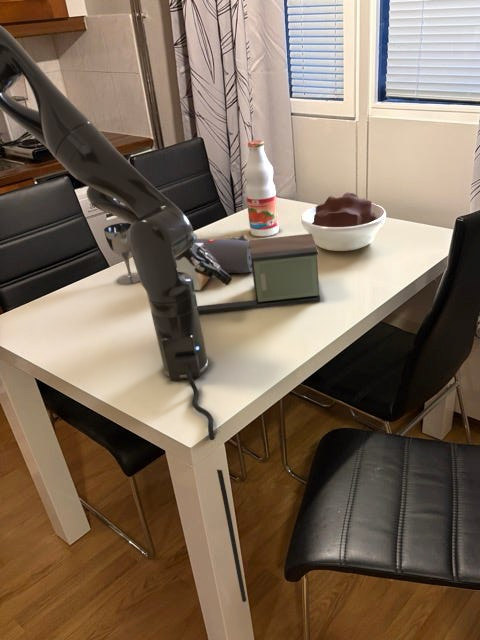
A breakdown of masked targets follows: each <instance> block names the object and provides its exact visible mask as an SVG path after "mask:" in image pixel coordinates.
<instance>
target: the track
mask: <svg viewBox="0 0 480 640" xmlns="http://www.w3.org/2000/svg"><path fill="white" fill-rule="evenodd" d="M316 247H317V246H316ZM316 247H315V248H306V249H296V250H287V251H277V252H268V253H258V254H251V261H261V260H270V259H280V258H289V257H298V256H308V255H317V256H318V255H319V250H318V248H316ZM315 302H321V295H320V292H319V293H318V296H309V297H300V298H290V299H281V300H272V301H263V302H258V300H256V299H252V300H241V301H232V302H223V303H222V302H221V303H214V304H213V303H211V304H204V305H197V306H198V311H199V315H203V314H214V313H223V312H231V311H241V310H251V309H260V308H261V309H262V308H269V307H278V306H288V305H297V304H306V303H315Z"/></svg>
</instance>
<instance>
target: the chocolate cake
mask: <svg viewBox="0 0 480 640" xmlns="http://www.w3.org/2000/svg"><path fill="white" fill-rule="evenodd" d="M386 219H387V212H386V210H385V208H383V207H382V206H381V205H378V204H375V203H373V202H372V201H371V200H369V199H366V198H360V197H359V196H358V195H357V194H355V193H353V192H346V193H344V194H343V195H342V196H339V197H335V196H332V195H329V196H328V197H327V198H326V200H325V202H324V203H323V204H322V203H321V204H317V205H315V206H312V207H310V208H308V209H307V210H305V211H304V212H303V213H302V214H301V216H300V224H301V225H302V227H303V229H304V230H305V231H306V233H307V234H312V236H313V239H314V242H315V245H316V246H318V247H319V248H321V249H324V250H328V251H332V252H333V251H335V252H347V251H354V250H359V249H362V248H364V247H366V246H368V245H370V244H371V243H372V242H373V241H374V239H375V237H376V234H377V233H378V231H379V230H380V229H381V228H382V227H383V225H385V221H386Z"/></svg>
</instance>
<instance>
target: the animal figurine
mask: <svg viewBox="0 0 480 640" xmlns="http://www.w3.org/2000/svg"><path fill="white" fill-rule="evenodd" d="M229 239H230V240H243V241H249V240H247V237H246V236H245V234H244V233H243V234H241V235H240V236H239V237H237V236H231V238H229Z"/></svg>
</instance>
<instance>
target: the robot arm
mask: <svg viewBox="0 0 480 640" xmlns="http://www.w3.org/2000/svg"><path fill="white" fill-rule="evenodd" d="M22 77H24V79H25V80H26V82H27V83H28V86H29V88H30V90H31V92H32V95H33V97H34V101H35V103H36V107H37V110H36V109H33V108H31V107H28V106H26V105H24V104H22V103H20V102H19V101H17V100H15V99H14V98H13V97H11V96H10V95H9V94H8V93H7V91H9V90H10V89H11V88H12V87H13V86H14V85H15V84H16V83H17V82H19V80H20V79H21V78H22ZM0 110H1V112H3V113H4V114H5V115H6V116H8V118H10V119H11V120H12V121H14V123H16V124H17V125H19V126H20V127H21V128H22V129H24V130H25V131H26V132H27V133H29V134H30V136H33V137H34V138H35V139H36V140H38V142H40V143H41V144H42V145H44V146H45V147H46V148H47V149H48V150H49V152H50V153H51V154H52V156H53V157H54V158H55V159H56V160H57V161H58V162H59V163H60V164H61V165H62V166H63V167H64V169H65V170H66V171H68V173H69V174H70V175H71V176H72V177H74V178H75V179H76V180H78V182H80V183H82V184H83V185H85V186H86V187H87V189H86V197H87V199H88V201H89V203H90V204H91V205H92V206H93V207H94V208H97V209H98V210H100V211H101V212H104V213H107V214H109V215H112V216H115V217H116V218H119V219H121V220H122V221H124V222H125V223H130V224H131V226H130V229H129V244H130V249H131V252H132V253H131V256H132V259H133V262H134V266H135V269H136V272H137V273H136V274H138V277H139V280H140V281H139V282H140V284H141V286H142V287H143V289H144V290H145V293H146V296H147V300H148V304H149V309H150V314H151V318H152V323H153V328H154V331H155V335H156V340H157V344H158V348H159V354H160V357H161V361H162V368H163V372H164V374H165V376H166V377H169V380H170V381H180V380H187V381H188V384H189V385H190V387H191V389H192V391H193V398H192V400H191V404H192V407H193V408H194V409H195V410H196V411H197V412H199V413H200V414H202V415H204V416H205V417H206V418H207V432H208V436H209V440H210V441H214V440H215V439H216V437H215V433H214V418H213V416H212V414H211V412H209V411H208V410H207V409H205V408H203V407H202V406H200V405H199V404H198V399H199V390H198V387H197V385H196V383H195V381H194V379H197V378H201V375H202V374H203V373H204V372H205V371H207V369H208V368H209V364H210V363H209V359H208V356H207V351H206V345H205V339H204V333H203V329H202V322H201V318H200V317H201V316H200V314H199V311H198V306H199V305H198V300H197V294H196V290H195V288H194V283H193V279H192V277H191V276H190V275H189V274H187V273H184V272H178V269H177V267H176V263H175V260H177V261H179V260H181V259H182V258H183V257H185V258H186V259H187V260H188V261H189V263H190V264H191V265H192V266H194V267H196V268H195V269H194V270H195V271H196V272H197V273H200V274H202V275H205V276H207V277H209V279H213V278H216V279H217V280H218V281H220V282H221V283H222V284H224V285H225V286H228V285H230V284H231V282H232V281H233V277H232V275H230V273H227V272H225V271H224V270H223V269H221V268H220V265H219V264H218V263H219V262H218V261H217V260H216V259H215V258H214V257H213V255H212V254H211V253H210V252H209V251H208V250H207V248H206V247H204V246H203V247H201V246H198V245H197V244H195V243H194V242H195V240H196V239H197V234H196V233H195V232H194V229H193V228H194V227H193V226H192V224H191V222H190V219H189V218H188V217H187V216H186V215H185V214H184V212H183V211H182V210H181V209H180V208H179V207H178V206H177V205H176V204H175V203H174V202H172V201H171V200H170V199H169V198H168V197H166V196H165V195H164V194H163V193H162V192H161V191H159V190H158V189H157V188H156V187H155V186H154V185H153V184H152V183H151V182H150V181H149V180H147V179H146V178H145V177H144V176H143V175H142V174H141V173H140V172H139V171H138V170H137V169H136V168H135V167H134V166H133V165H132V164H131V163H130V162H129V161H128V159H126V158H125V157H124V155H122V153H120V152H119V151H118V149H117V148H115V147H114V145H113V144H112V143H111V141H109V139H108V138H107V137H106V136H105V135H104V134H103V133H102V131H100V130H99V128H98V127H97V126H96V125H95V124H94V123H93V122H92V121H91V120H90V119H89V118H88V117H87V116H85V114H84V113H82V111H81V110H79V109H78V107H77V106H75V104H73V102H72V101H71V100H70V99H69V98H68V97H67V96H66V95H64V93H63V92H62V91H61V90H60V89H59V88H58V87H57V86H56V85H55V83H54V82H53V81H52V80H51V79H50V78H49V76H47V74H46V73H45V72H44V71H43V70H42V69H41V67H40V66H39V65H38V64H37V63H36V61H35V60H34V59H33V58H32V57H31V56H30V54H29V53H28V52H27V51H26V50H25V49H24V48H23V46H22V45H21V43H20V42H18V41H17V40H16V39H15V37H14V36H13V35H12V34H11V33H10V32H9V31H8V30H7V29H5V28H4V26H2V25H1V24H0ZM216 473H217V477H218V482H219V487H220V492H221V496H222V502H223V507H224V512H225V513H224V514H225V518H226V522H227V527H228V528H227V529H228V533H229V538H230V544H231V549H232V554H233V560H234V565H235V570H236V571H235V572H236V575H237V580H238V587H239V591H240V597H241V600H242V602H243V603H246V602H247V596H246V591H245V585H244V580H243V574H242V568H241V563H240V558H239V553H238V547H237V546H238V545H237V542H236V536H235V530H234V525H233V520H232V514H231V508H230V504H229V499H228V493H227V488H226V484H225V478H224V473H223V469H216Z"/></svg>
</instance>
